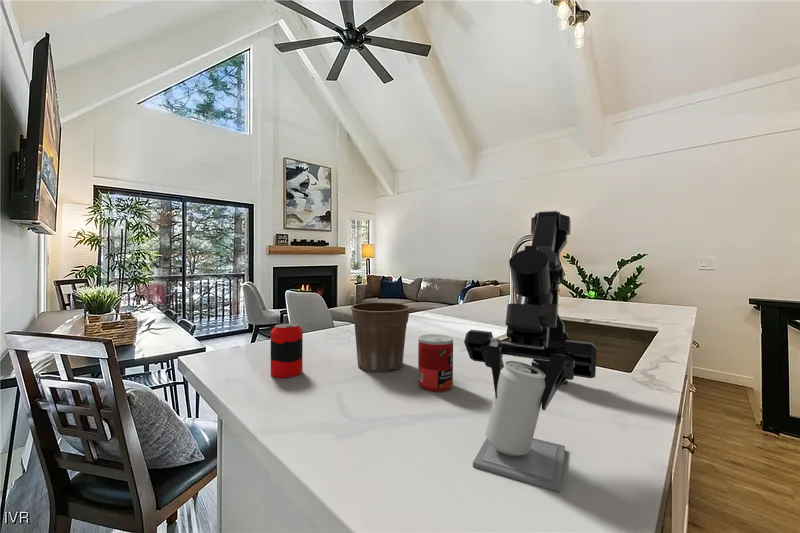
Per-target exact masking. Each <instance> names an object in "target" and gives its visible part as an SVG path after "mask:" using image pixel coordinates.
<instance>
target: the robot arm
mask: <svg viewBox="0 0 800 533" xmlns="http://www.w3.org/2000/svg"><path fill="white" fill-rule="evenodd" d="M530 222H531V224H530V233H531V236H532V241H531V245H525V246H524V249H522V250H520V251H518V252H516V253H514V254H513V255H512V256H511V257H510V258H509V260H508V263H509V265H508V266H509V269H510V275H511V280H512V285H513V290H514V292H515V294H516V295H517V297H516V303H508V304H507V306H506V307H507V309H506V318H505V326H507V327H506V331H505V332H506V337H507V338H509V339H508V340H509V341H502V340H500V338H496V337H494V335H493V332H492V331H488V330H487V331H486V330H477V329H470V330H469V331H467V332H466V333H465V338H464V340H463V343H464V345H465V348H466V351H467V353H468V357H469V359H471V360H472V361H474V362H478V363H484V365H485V366H486V367H488V368H489V369H490V368H491V374H492V379H493V380H492V381H493V387H494V388H493V389H494V396H496V399H497V385H498V380H499V375H500V371H501V369H502V368H503V367H504V366H505V363H504V361H503V357H504V356H512V357H517V358H524V359H532V360H531V366H533V367H535V368H537V369H539V370H541V371H542V372H544V373H545V379H544V380H545V385H546V387H545V389H544V392H543V396H542V404H541V410H542V411H546V410H547V408H548V406H549V404H550V403H551V401H552V399H553V398H554V396H555V395H556V393H557V391H558V390H559V389H560V387H561V386H562V385H564V384H569V381H572V380H574V378H575V377H579V378H587V379H594V378H596V369H597V347H596V346H595V344H594V343H593V342H592V341H591V342H590V341H582V340H581V341H579V340H572V339H571V338H570V336H569V335H568V332H566V331H565V323H564V322H563V319H562V318H561V316H560V315H559V294H560V293H559V289H560V285H561V284H562V283H563V280H564V279H565V271H564V270H563V268H562V265H561V264H560V256H561V252H562V250H563V249H564V248H565V247H566V245H568V236H570V235H571V230H572V229H571V218H570V215H569V216H568V215H565V214H563V213H562V214H561V211H557V210H551V211H550V210H549V211H548V210H547V211H538V212H537V213H535V215H534V217H533V216H532V217H531V219H530Z"/></svg>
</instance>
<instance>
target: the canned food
mask: <svg viewBox="0 0 800 533" xmlns="http://www.w3.org/2000/svg"><path fill="white" fill-rule="evenodd" d="M417 348H418V349H417V350H418V352H417V353H418V355H417V356H418V361H417V362H418V364H417V366H418V367H417V368H418V370H417V371H418V374H417V376H418V377H417V381H418V385H419V387H420V388H421V389H423V390H425V391H428V392H435V393H436V392H437V393H440V392H446V391H449V390H451V388H453V384H454V382H453V380H454V378H453V377H454V374H453V373H454V338H453V337H452V336H449V335H445V334H437V333H433V334H432V333H428V334H422V335H420V336H419V337H418V347H417Z"/></svg>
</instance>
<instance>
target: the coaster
mask: <svg viewBox="0 0 800 533" xmlns="http://www.w3.org/2000/svg"><path fill="white" fill-rule="evenodd" d="M565 451H566V445H562V444H559V443H554V442H551V441H547V440H541V439H539V438H534V437H533V440H532V444H531V448H530V451H529V452H528V453H527V454H525V455H521V456H511V455H507V454H504V453H502V452H500V451H498V450H497V449H495V448H494V447H493V446H492V445H491V444H490V442H489V440H488V439H487V437H486V438H485V440H484V442H483V444H482V445H481V447H480V448H479V451H478V452H477V454H476V456H475V458H474V459H473V462H472V467H474V468H476V469H480V470H483V471H486V472H490V473H494V474H497V475H500V476H504V477H507V478H509V479H513V480H517V481H521V482H524V483H527V484H530V485H533V486H536V487H540V488H544V489H546V490H550V491H553V492H556V493H561V486H562V478H563V477H562V476H563V469H564V463H565V461H564V460H565V453H566V452H565Z"/></svg>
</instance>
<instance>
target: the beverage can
mask: <svg viewBox="0 0 800 533" xmlns="http://www.w3.org/2000/svg"><path fill="white" fill-rule="evenodd" d="M544 379H545V373H544V372H542V371H541V370H539V369H537V368H535V367H533V366H532V364H531V365H530V364H528V363H525V362H521V361H516V360H508V361H506V362H505V363H504V367H503V368H502V369H501V371H500V375H499V380H498V385H497V399H496V396H495V395H494V396H493V401H492V405H491V409H490V413H489V414H490V415H489V418H488V423H487V426H486V430H485V437H486V438H487V439H488V440H489V442H490V444H491V445H492V446H493V447H494V448H495V449H497V450H498V451H500V452H502V453H504V454H507V455H511V456H521V455H525V454H527V453H528V452H529V451H530V448H531V444H532V440H533V438H534V436H535V431H536V428H537V423H538V420H539V416H540V413H541V412H540V411H541V409H542V396H543V392H544V389H545V387H546V385H545V380H544Z"/></svg>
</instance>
